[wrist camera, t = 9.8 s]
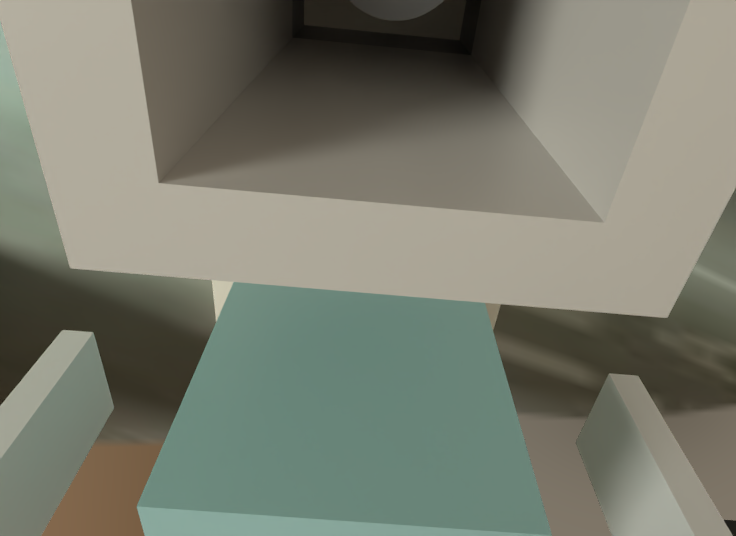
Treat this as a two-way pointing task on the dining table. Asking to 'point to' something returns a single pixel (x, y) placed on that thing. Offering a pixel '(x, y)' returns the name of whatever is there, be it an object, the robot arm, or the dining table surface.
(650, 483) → the robot arm
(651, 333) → the dining table surface
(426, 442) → the teal sleeve
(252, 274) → the grey sleeve
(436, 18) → the pin board
